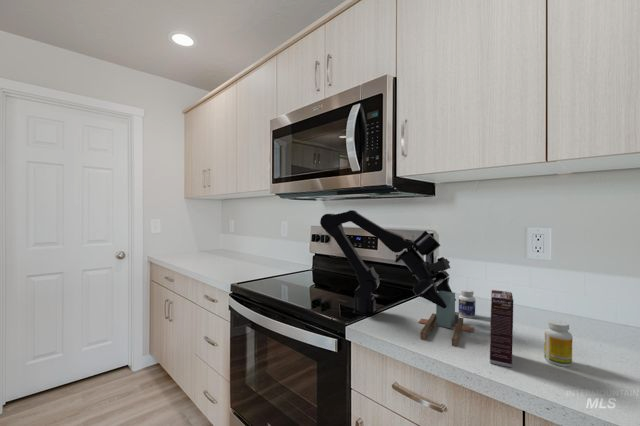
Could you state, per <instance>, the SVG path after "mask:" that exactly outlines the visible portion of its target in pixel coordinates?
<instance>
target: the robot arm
mask: <svg viewBox="0 0 640 426" xmlns="http://www.w3.org/2000/svg"><path fill="white" fill-rule="evenodd" d="M319 220H320V221H319V224H320V226H321V228H322V229H323V230H324V231H325V232H326V233H327V234H328V235H329V236H330V237H332V238H333V240H335V243H337V246H338V247H339V248H340V250H341V251H342V253H343V255H344V256H345V257H346V259H347V261H348V263H349V264H350V265H351V267H352V269H353V270H354V271H355V272H354V273H355V275H356V279H357V281H358V284H359V285H358V286H357V288H356V289H355V290H354V291H353V292H354V310H352V314H356V315H362V316H367V315H368V317H371V316H372V315H373V314H375V313H376V312H377V310H376V308H377V305H376V303H377V300H376V299H375V294H374V293H375V292H376V291H377V289H378V287H379V285H380V278H379V277H380V275H379V274H378V273H377V272H376V270H375V268H374V266H372V267H368V265H366V264H365V262H364V261H363V259H362V258H361V256H360V254H359V253H358V252H357V250H356V248H355V247H354V245H353V244H352V242H351V240H350V238H349V237H348V236H347V234H346V233H345V230H344V227H343V224H346V223H348V222H349V223H352V224H354V225H355V226H358V227H359V228H361V229H363V230H364V231H366V232H367V233H369V234H370V235H372V236H374V237H375V238H377V239H378V240H379V241H380V242H381V243H382V244H383V245H384V246H385V247H387V249H389V250H390V251H391V252H392V253H400V254H395V260H394V261H395V263H396V264H399V263H401V262H403V264H404V265H405V266H406V267H407V268H408V270H409V271H410V275H411V276H412V277H413V276H414V277H415V278H416V280H418V282H417V283H416V284H415V285H414V286H413V287H412V292H413V293H414V294H415V295H416V297H418V296H419V298H422V299H424V300H427V301H429V302H431V303H433V304H435V305H438V306H440V307H442V308H444V309H445V308H446V307H447V305H446V304H445V302H444V301H443V299H442V298H441V296H440V295H439V293H438V292H440V291H446V292H452V293H453V291H452V289H451V287H450V285H449V281H450V274H449V273H448V271H447V270H448V269H451V266H450V261H449V260H448V259H447V258H445V257H444V256H442V257H438V258H437V260H436V262H433V263H431V262H430V261H427V260H426V261H425V260H424V258H423V256H426V257H429V256H430V255H431V254H432V253H433V252H434V251H436V250H437V249H438V248H439V247H441V244H440V243H439V241H438V240H436V238H435V237H434V236H432V235H431V234H430V233H429V232H428V231H427V230H424V231H423V232H422V233H421V234H420V235H419V236H418V237H417V238H416V239H414V240H413V239H409V238H408V239H407V238H406V237H405V236H403V235H401V234H400V233H397V232H394V231H391V230H388V229H385V228H384V227H381V226H380V225H378V224H376V223H375V222H373V221H372V220H370V219H369V218H367V217H365V216H363V215H362V214H360V213H359V212H357V211H356V210H347V211H345V212H340V213H325V214H324V215H321V218H320V219H319ZM404 249H405V250H404ZM407 249H408V250H407ZM416 250H417V251H416ZM402 251H403V252H402ZM456 301H457V299H456V298H455V302H456ZM375 311H376V312H375ZM372 313H373V314H372ZM371 314H372V315H371ZM370 315H371V316H370Z"/></svg>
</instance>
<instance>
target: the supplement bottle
mask: <svg viewBox="0 0 640 426" xmlns="http://www.w3.org/2000/svg"><path fill="white" fill-rule="evenodd" d="M547 324H548V328H546V329H544V340H543V341H544V344H543V345H544V350H543V353H544V355H543V356H544V357H543V358H544V360H545V361H546V362H548V363H550V364H552V365H555V366H558V367H562V368H564V367H565V368H567V367H571V366H572V364H573V335H572V333H571V332H570V331H569V330H570V324H569V323H568V322H567V321H563V320H558V319H549V320H548V323H547Z"/></svg>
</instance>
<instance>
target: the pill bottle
mask: <svg viewBox="0 0 640 426" xmlns="http://www.w3.org/2000/svg"><path fill="white" fill-rule="evenodd" d="M457 312H458V313H459V317H461V318H465V319H466V318H467V319H472V318H473V319H474V318H475V317H476V297H474V290H473V289H470V288H469V289H468V288H462V289H460V295H459V296H458V311H457Z"/></svg>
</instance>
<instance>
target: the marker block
mask: <svg viewBox="0 0 640 426" xmlns="http://www.w3.org/2000/svg"><path fill="white" fill-rule="evenodd" d="M437 292H438V291H437ZM438 293H439V295H440V296H441V298H442V299H443V301H444V302H445V304H446V305H447V307H446V308H445V309H444V308H442V307H440V306H438V305H436V304H435V305H436V306H435V308H436V309H435V314H436V325H439V326H443V327H442V328H444V327H447V328H446V329H450V328H451V327H453V326H454V325H455V312H456V301H455V299H456V292H453V291H452V292H446V291H440V292H438Z"/></svg>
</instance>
